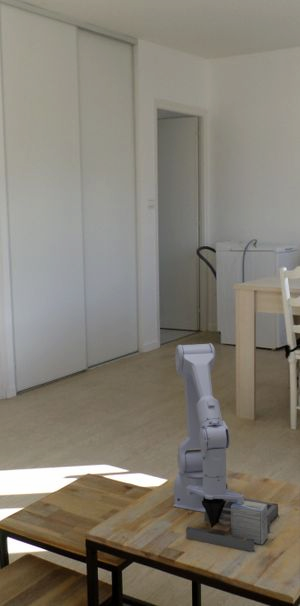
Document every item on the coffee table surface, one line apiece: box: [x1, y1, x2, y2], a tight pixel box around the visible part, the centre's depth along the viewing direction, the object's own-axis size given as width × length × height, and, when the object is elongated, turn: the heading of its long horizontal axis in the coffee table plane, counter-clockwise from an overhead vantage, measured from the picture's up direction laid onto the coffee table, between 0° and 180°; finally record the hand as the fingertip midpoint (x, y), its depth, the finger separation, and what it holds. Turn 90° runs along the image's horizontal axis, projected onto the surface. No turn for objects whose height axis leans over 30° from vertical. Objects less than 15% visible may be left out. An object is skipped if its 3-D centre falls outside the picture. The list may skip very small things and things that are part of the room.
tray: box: [222, 497, 279, 525], centre depth 194 cm, size 13×9×3 cm
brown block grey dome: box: [211, 515, 231, 535], centre depth 183 cm, size 4×9×4 cm, turn 153°
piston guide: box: [185, 511, 271, 553], centre depth 183 cm, size 17×13×3 cm
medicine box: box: [231, 501, 269, 545], centre depth 181 cm, size 8×4×9 cm, turn 63°
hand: (214, 526), depth 185 cm, fingers closed
